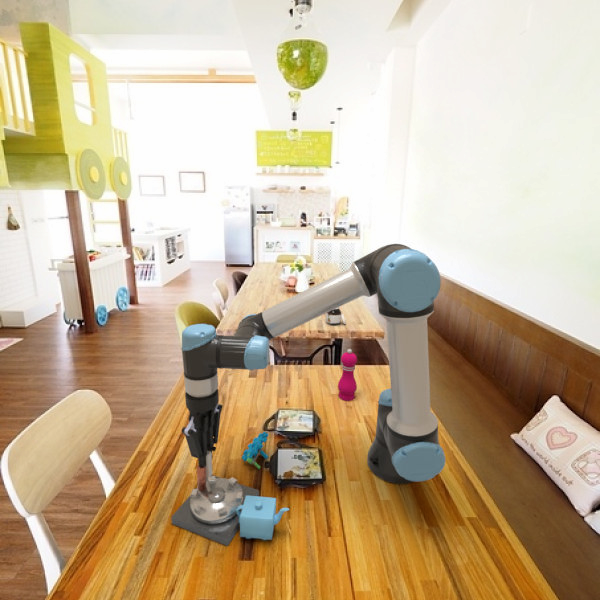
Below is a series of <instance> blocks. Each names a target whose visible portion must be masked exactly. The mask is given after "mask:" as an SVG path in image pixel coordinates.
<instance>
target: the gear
mask: <svg viewBox="0 0 600 600" xmlns="http://www.w3.org/2000/svg"><path fill="white" fill-rule="evenodd" d="M268 437H269V433H268V432H266V431H263V432H260V433H259V434H258V436H257V437H254V438H253V439H252V443H249V444H248V445H247V447H248V448H247V449H245V450H244V451H243V454H242V457H241V459H242V460H243V461H244V462H248V464H250V465H254V466H255V467H256V468H257V470H258V469H259V470H260V469H261V465H259V463H257V462H256V460H257V458H258V457H259V455H261V456H262V457H263V458H264V459H265V460H267V459H268V458H269V456H268V454H267V453H265V452H264V451H263V447H264V444H265V443H266V442H267V441H268Z"/></svg>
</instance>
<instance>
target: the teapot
mask: <svg viewBox="0 0 600 600" xmlns="http://www.w3.org/2000/svg"><path fill="white" fill-rule="evenodd" d="M276 507H277V498H276V497H269V496H260V495H259V496H248V495H246V497H245V501H244V504H243V505H240V506H238V507H237V510H236V512H237V515H238V516H239V517H240V518H239V523H240V528H239V537H240V538H245V539H247V540H250V539H259V540H262V541H267V540H270V541H271V540H273V535H274V528H275V526H276V525H277V524H279V522H280V521H281V520H282V516H283V514H284V513H285V512H288V511H289V510H290V508H288V507H282V508H280V510H279V511H278V513H277V510H276V509H277V508H276ZM240 509H242V512H241V513H240V511H239V510H240Z"/></svg>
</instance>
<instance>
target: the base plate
mask: <svg viewBox="0 0 600 600" xmlns="http://www.w3.org/2000/svg"><path fill="white" fill-rule="evenodd" d="M212 476H215V478H216V479H217V478H221V477H220V476H216V475H214V474H212V475H211V476H210V477H212ZM206 481H208V477H206ZM238 484H239V485H240V487H241V488H242V491H243V504H244V501H245V497H246V495H248V496H260V490H259V489H256V488H253V487H250V486H248V485H244V484H241V483H238ZM190 499H191V494H190V495H189V496H188V497H187V499H185V501H183V503H182V504H181V505H180V506H179V507H178V508H177V510H176V511H175V512H174V513H173V514H172V516H171V517H170V518H171V524H172V525H173V526H176V527H179V528H180V529H183V530H186V531H189V532H192V533H194V534H197V535H198V536H201V537H203V538H206V539H208V540H211V541H214V542H216V543H218V544H221V545H224V546H225V547H228V546H229V544H230V543H231V542H232V540H233V538H234V537H235V536H236V534H237V532H238V531H239V530H240V528H239V527H240V523H239V518H240V517H239V516H238V515H237V514H236V515H235V516H233V517H232V518H230V519H229V520H227V521H224V522H221V523H216V524H208V523H203V522H201V521H199V520H197V519H196V518H195V517H194V516H193V514H192V512H191V507H190ZM243 504H242V505H243ZM239 511H240V513H241V512H242V509H240V510H239Z"/></svg>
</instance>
